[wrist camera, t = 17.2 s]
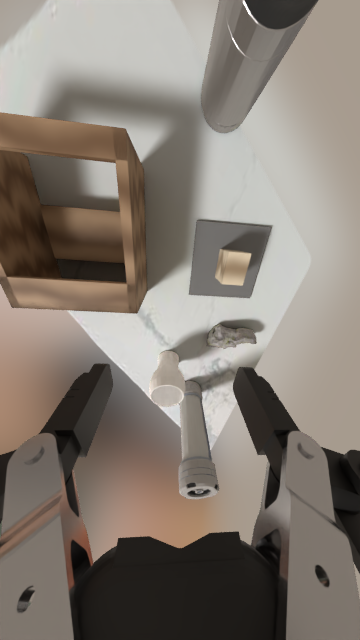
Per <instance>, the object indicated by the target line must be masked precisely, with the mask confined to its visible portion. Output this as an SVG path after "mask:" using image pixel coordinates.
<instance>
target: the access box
mask: <svg viewBox="0 0 360 640" xmlns="http://www.w3.org/2000/svg"><path fill="white" fill-rule="evenodd" d="M20 152H23V153H32V154H41V155H50V156H59V157H67V158H76V159H85V160H94V161H103V162H112V163H116V171H117V182H118V193H119V204H120V212H115V211H104V210H93V209H82V208H71V207H60V206H50V205H41V203H40V200H39V196H38V193H37V189H36V186H35V182H34V179H33V175H32V172H31V169H30V165H29V162H28V158H27V156H26V155H24V154H22V153H20ZM57 259H71V260H85V261H100V262H114V263H125V270H126V281H127V282H112V281H96V280H79V279H63V278H62V277H61V273H60V270H59V266H58V263H57ZM0 284H1V286H2V288H3V290H4V292H5V294H6V296H7V298H8V300H9V302H10V304H11V307H12V308H34V309H53V310H74V311H96V312H117V313H138V311H139V309H140V306H141V304H142V302H143V300H144V297H145V295H146V293H147V270H146V235H145V199H144V169H143V167H142V164H141V162H140V160H139V158H138V156H137V153H136V151H135V149H134V147H133V144H132V142H131V140H130V138H129V135H128V133H127V131H126V129H124V128H116V127H109V126H101V125H93V124H85V123H78V122H70V121H62V120H54V119H47V118H39V117H31V116H23V115H16V114H8V113H0Z"/></svg>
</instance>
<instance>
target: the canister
mask: <svg viewBox="0 0 360 640" xmlns="http://www.w3.org/2000/svg"><path fill="white" fill-rule="evenodd" d="M179 405H180V419H181V440H182V462H181V464H180V466H179V493H180V494H181V495H183V496H184V497H185V498H188V499H202V498H206V497H211V496H214V495H215V494H217V492H218V491H219V485H218V480H217V476H216V470H215V464H214V463H213V462H212V458H211V452H210V447H209V441H208V435H207V429H206V423H205V417H204V412H203V406H202V393H201V387H200V386H199V384H198V383H196V382H194V381H186V382H185V393H184V398H183V400H182V401H181V402H180V403H179Z"/></svg>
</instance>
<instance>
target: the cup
mask: <svg viewBox="0 0 360 640" xmlns="http://www.w3.org/2000/svg"><path fill="white" fill-rule="evenodd" d="M178 364H179V356H178V355H177V354H176V353H175V352H173V351H164V352H162V353H160V354H159V356H158V368H157V370H156V371H155V372H154V374H153V376H152V378H151V380H150V385H149V391H150V398H151V400H152V401H153V402H154V403H155V404H157V405H159V406H164V407H169V406H174V405H177V404H179V403H180V402H181V401H182V400H183V398H184V393H185V380H184V377H183V375H182V373H181V371H180V370H179V368H178Z"/></svg>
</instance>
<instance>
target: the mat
mask: <svg viewBox="0 0 360 640" xmlns="http://www.w3.org/2000/svg"><path fill="white" fill-rule="evenodd" d="M270 230H271V227H263V226H252V225H241V224H230V223H219V222H208V221H197V223H196V233H195V242H194V252H193V261H192V271H191V280H190V289H189V295H203V296H221V297H239V298H250V296H251V293H252V290H253V286H254V283H255V280H256V276H257V273H258V270H259V267H260V263H261V260H262V257H263V253H264V250H265V247H266V243H267V240H268V237H269V234H270ZM220 249H226V250H237V251H243V252H247V253H251V258H250V261H249V265H248V268H247V272H246V276H245V279H244V283H243V286H240V285H226V284H221V283H220V282H219V281H218V280H217V279H216V278H215V274H216V268H217V263H218V258H219V252H220Z"/></svg>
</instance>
